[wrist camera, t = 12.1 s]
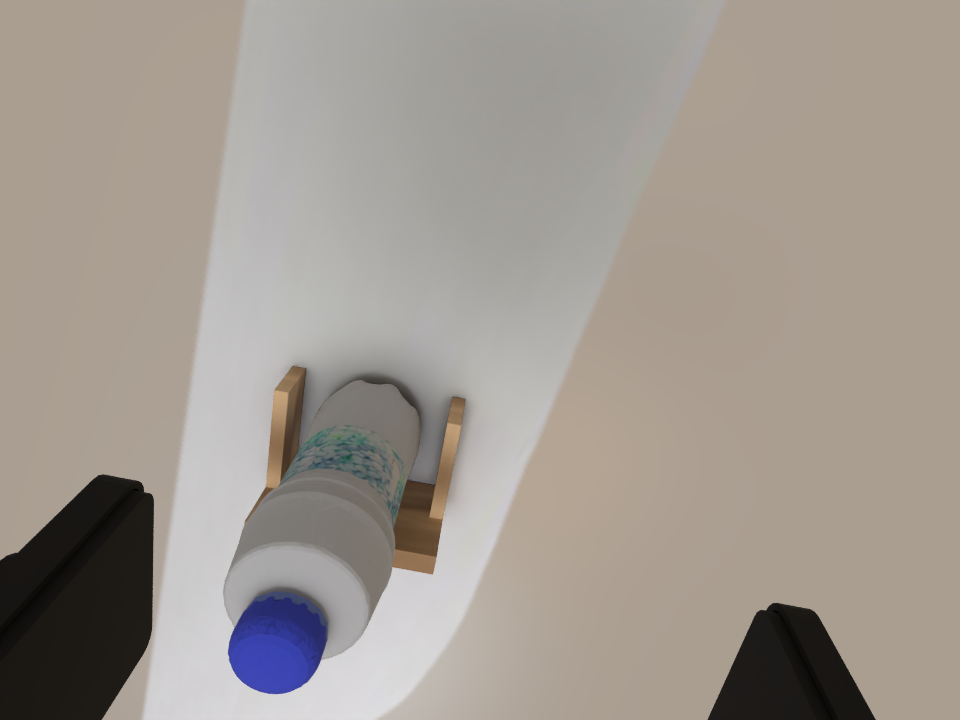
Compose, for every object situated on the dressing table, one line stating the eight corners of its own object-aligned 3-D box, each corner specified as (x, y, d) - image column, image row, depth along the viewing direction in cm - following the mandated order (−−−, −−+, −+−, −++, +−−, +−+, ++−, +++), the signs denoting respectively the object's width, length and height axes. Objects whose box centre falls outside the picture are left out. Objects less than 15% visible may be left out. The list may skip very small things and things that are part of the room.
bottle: (341, 474, 45) (218, 754, 26) (304, 381, 42) (141, 615, 24) (441, 452, 44) (387, 726, 25) (409, 356, 41) (324, 579, 23)
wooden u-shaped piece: (292, 366, 42) (252, 418, 35) (465, 399, 42) (456, 456, 36) (282, 473, 45) (243, 539, 38) (444, 503, 45) (432, 574, 39)
